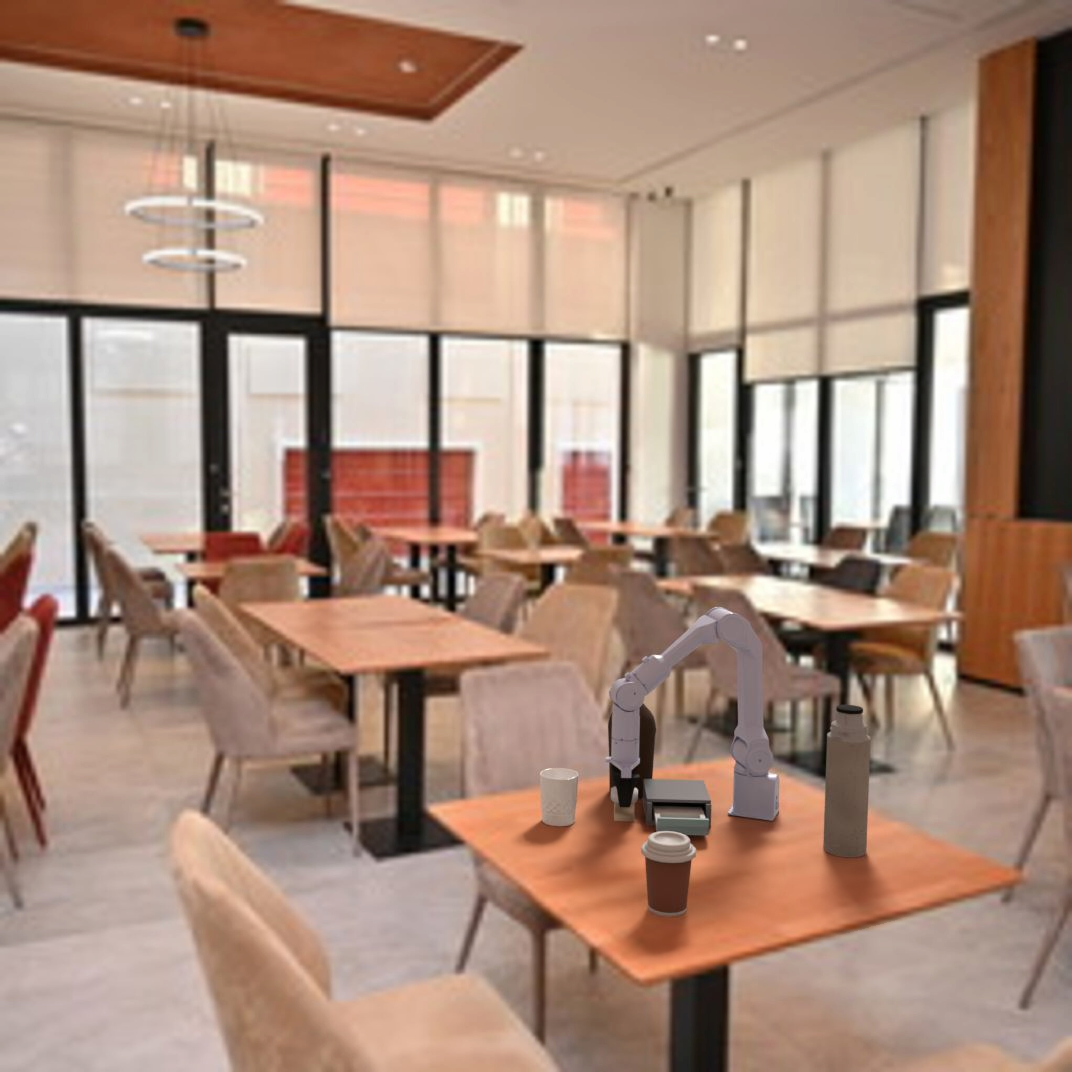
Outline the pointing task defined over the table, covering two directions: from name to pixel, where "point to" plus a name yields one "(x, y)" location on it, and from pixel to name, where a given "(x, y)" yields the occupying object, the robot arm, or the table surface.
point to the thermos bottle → (847, 784)
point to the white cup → (558, 796)
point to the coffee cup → (668, 872)
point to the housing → (675, 796)
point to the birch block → (623, 812)
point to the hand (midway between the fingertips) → (624, 801)
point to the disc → (615, 796)
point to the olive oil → (640, 748)
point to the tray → (681, 820)
